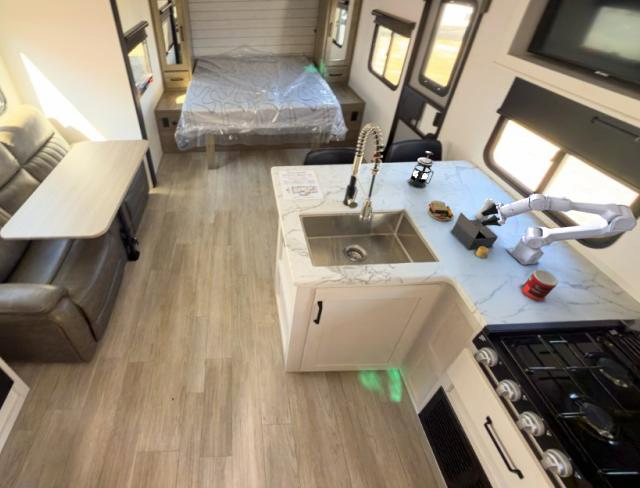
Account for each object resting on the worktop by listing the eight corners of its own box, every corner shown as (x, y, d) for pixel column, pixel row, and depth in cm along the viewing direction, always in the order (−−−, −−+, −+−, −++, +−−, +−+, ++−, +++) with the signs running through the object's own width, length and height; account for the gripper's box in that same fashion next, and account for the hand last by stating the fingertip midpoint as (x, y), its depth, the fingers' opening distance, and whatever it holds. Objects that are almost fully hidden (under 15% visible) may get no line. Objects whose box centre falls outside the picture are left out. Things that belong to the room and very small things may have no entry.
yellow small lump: (487, 257, 154) (491, 251, 151) (479, 258, 153) (483, 252, 151) (481, 251, 157) (484, 245, 155) (473, 252, 157) (477, 246, 154)
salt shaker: (487, 223, 173) (499, 204, 166) (476, 221, 174) (487, 203, 167) (483, 216, 178) (494, 197, 170) (472, 214, 179) (482, 196, 171)
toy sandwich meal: (430, 220, 176) (433, 213, 173) (424, 205, 186) (427, 198, 183) (455, 223, 173) (458, 216, 171) (448, 207, 184) (451, 201, 181)
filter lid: (479, 230, 150) (479, 230, 150) (474, 239, 154) (474, 239, 154) (461, 212, 161) (460, 212, 160) (456, 221, 164) (456, 221, 164)
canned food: (533, 285, 141) (547, 269, 134) (548, 301, 134) (563, 284, 128) (516, 285, 140) (529, 269, 134) (530, 301, 134) (545, 285, 127)
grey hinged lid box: (491, 246, 159) (498, 236, 155) (468, 249, 158) (474, 239, 154) (473, 229, 170) (478, 219, 165) (451, 231, 168) (456, 221, 164)
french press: (405, 183, 204) (417, 152, 191) (411, 177, 210) (422, 146, 196) (424, 190, 198) (438, 159, 184) (429, 184, 203) (443, 153, 189)
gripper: (508, 194, 151) (477, 204, 161) (509, 212, 141) (476, 222, 152) (517, 204, 151) (486, 214, 162) (519, 223, 142) (485, 233, 152)
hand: (482, 219), depth 157 cm, fingers open, 7 cm apart
